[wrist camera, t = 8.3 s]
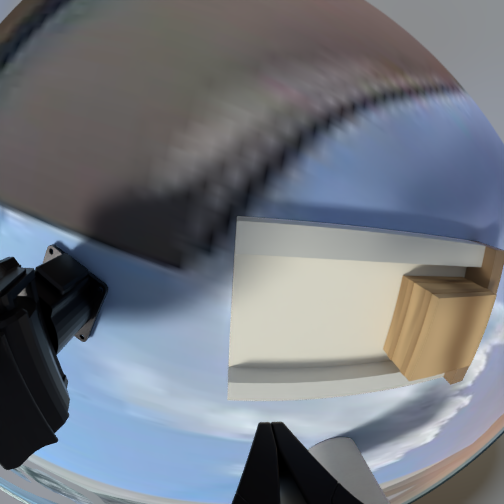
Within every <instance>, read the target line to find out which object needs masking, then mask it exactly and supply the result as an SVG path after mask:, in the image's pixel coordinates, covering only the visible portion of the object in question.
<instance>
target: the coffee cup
mask: <svg viewBox="0 0 504 504" xmlns="http://www.w3.org/2000/svg"><path fill="white" fill-rule="evenodd" d="M308 451H309V452H310V453H311V454H312V455H313V456H314V457H315V458H316V460H317V461H318V462H319V463H320V464H321V465H322V466H323V467H324V468H325V469H326V470H327V471H328V472H329V473H330V474H331V475H332V476H333V477H334V478H335V479H336V480H337V481H338V483H340V484H341V485H342V486H343V487H344V488H345V489H346V490H348V491H349V492H350V493H351V494H352V495H353V496H354V497H356V498H357V499H358V500H360V501H361V502H362V503H364V504H390V503H389V501H388V499H387V498H386V496H385V494H384V493H383V491H382V489H381V488H380V486H379V484H378V482H377V481H376V479H375V477H374V475H373V474H372V472H371V470H370V469H369V467H368V465H367V463H366V462H365V460H364V458H363V456H362V455H361V453H360V451H359V449H358V448H357V446H356V444H355V442H354V441H353V440H352V439H351V438H347V437H337V438H332V439H328V440H325V441H323V442H320V443H318V444H316V445H315V446H313V447H312V448H310V449H309V450H308Z"/></svg>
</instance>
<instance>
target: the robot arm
mask: <svg viewBox="0 0 504 504" xmlns="http://www.w3.org/2000/svg"><path fill="white" fill-rule="evenodd" d="M52 249H53V252H52ZM100 287H102V288H103V291H102V290H101V289H100ZM107 292H108V287H107V285H106V284H105V283H104V282H102V281H101V280H100V279H98V278H97V277H96V276H94V275H93V274H91V273H90V272H89V271H88V269H87V268H85V267H84V266H83V265H81V264H80V263H79V262H77V261H76V260H75V259H74V258H72V257H71V256H70V255H68V254H67V253H64V252H63V251H62V250H61V249H59V248H58V247H57V246H56V245H54V244H53V245H50V246H48V248H47V251H46V254H45V257H44V260H43V264H41V265H39V266H37V267H36V268H35V270H34V268H21V265H19V263H18V262H17V261H16V259H15V258H14V257H7V258H5V259H3V260H0V465H1V466H2V467H3V468H4V469H6V470H10V469H14V468H17V467H20V466H21V465H22V464H23V462H25V461H26V460H27V459H28V457H29V456H31V455H32V454H33V453H34V452H35V451H37V450H39V449H40V448H42V447H44V446H47V445H50V444H53V443H56V442H58V438H57V437H56V435H55V434H54V433H55V432H56V431H57V430H58V429H59V428H60V427H61V426H62V425H64V423H65V422H66V420H67V419H68V417H69V413H68V408H69V401H70V398H69V395H68V391H67V384H68V380H67V378H66V375H64V373H63V371H62V369H61V366H60V363H59V361H58V358H57V356H56V355H57V354H58V353H59V352H60V351H61V350H62V349H63V347H64V346H65V345H66V344H67V343H68V342H69V341H70V340H71V339H72V338H73V336H75V337H76V338H78V339H79V340H81V341H82V342H85V341H86V340H87V339H88V338H89V335H90V332H91V330H92V327H93V325H94V322H95V320H96V317H97V315H98V313H99V310H100V308H101V306H102V303H103V301H104V299H105V296H106V294H107ZM82 335H83V336H84V337H83V336H82ZM232 504H364V503H362V502H361V501H360V500H358V499H357V498H356V497H354V496H353V495H352V494H351V493H350V492H349V491H348V490H346V489H345V488H344V487H343V486H342V485H341V484H340V483H338V481H337V480H336V479H335V478H334V477H333V476H332V475H331V474H330V473H329V472H328V471H327V470H326V469H325V468H324V467H323V466H322V465H321V464H320V463H319V462H318V461H317V460H316V458H315V457H314V456H313V455H312V454H311V453H310V452H309V451H308V450H307V449H306V448H305V447H304V446H303V445H302V443H301V442H300V441H299V440H298V439H297V438H296V437H295V436H294V435H293V433H292V432H291V431H290V430H289V429H288V428H287V427H286V425H285V424H284V423H283V422H271V424H270V423H269V422H260V423H259V424H258V427H257V430H256V433H255V437H254V440H253V443H252V446H251V449H250V452H249V455H248V458H247V461H246V464H245V467H244V470H243V473H242V476H241V479H240V482H239V485H238V488H237V491H236V494H235V496H234V499H233V501H232Z"/></svg>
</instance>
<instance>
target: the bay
mask: <svg viewBox="0 0 504 504" xmlns="http://www.w3.org/2000/svg"><path fill="white" fill-rule="evenodd" d="M503 265H504V250H501V249H498V248H496V247H493V246H490V245H487V244H484V243H481V242H477V241H470V240H464V239H457V238H450V237H443V236H436V235H428V234H421V233H413V232H405V231H397V230H388V229H380V228H371V227H361V226H352V225H342V224H332V223H321V222H310V221H298V220H286V219H273V218H259V217H244V216H237V222H236V237H235V253H234V269H233V287H232V305H231V325H230V346H229V369H228V400H236V401H286V400H307V399H320V398H331V397H341V396H349V395H357V394H364V393H371V392H377V391H383V390H388V389H394V388H399V387H404V386H408V385H413V384H417V383H421V382H425V381H429V380H433V379H437V378H441V377H444V378H445V379H446V380H447V381H448V382H449V383H450V385H451V384H454V383H457V382H460V381H462V380H463V378H464V376H465V374H466V372H467V370H468V367H469V366H466V367H463V368H460V369H457V370H453V371H450V372H446V373H442V374H439V375H435V376H431V377H427V378H423V379H418V380H414V381H408V380H407V378H406V377H405V376H403V375H402V374H401V372H400V370H399V368H398V367H397V366H396V365H395V364H394V362H393V361H392V360H390V359H389V357H388V356H387V354H386V352H385V351H384V350H383V347H384V344H385V341H386V338H387V334H388V331H389V328H390V324H391V321H392V317H393V314H394V310H395V306H396V302H397V298H398V294H399V290H400V286H401V281H402V277H403V275H404V276H447V277H464V278H466V279H468V280H471V281H473V282H474V283H476V284H478V285H480V286H481V287H483V288H487V289H489V290H490V291H491V292H493V293H495V294H496V293H497V289H498V286H499V282H500V278H501V274H502V269H503Z"/></svg>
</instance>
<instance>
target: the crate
mask: <svg viewBox="0 0 504 504" xmlns="http://www.w3.org/2000/svg"><path fill="white" fill-rule="evenodd" d="M495 299H496V294H495V293H493V292H491V291H490V290H489V289H487V288H483V287H481V286H480V285H478V284H476V283H474V282H473V281H471V280H468V279H466V278H464V277H447V276H404V275H403V277H402V281H401V286H400V290H399V294H398V298H397V302H396V306H395V310H394V314H393V317H392V321H391V324H390V328H389V331H388V334H387V338H386V341H385V344H384V347H383V350H384V351H385V352H386V354H387V356H388V357H389V359H390V360H392V361H393V362H394V364H395V365H396V366H397V367H398V368H399V370H400V372H401V374H402V375H403V376H405V377H406V378H407V380H408V381H414V380H418V379H423V378H427V377H431V376H435V375H439V374H442V373H446V372H450V371H453V370H457V369H460V368H463V367H466V366H470V365H471V363H472V360H473V358H474V356H475V354H476V351H477V349H478V347H479V344H480V342H481V339H482V337H483V334H484V331H485V329H486V326H487V323H488V320H489V317H490V315H491V312H492V308H493V305H494V302H495Z"/></svg>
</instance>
